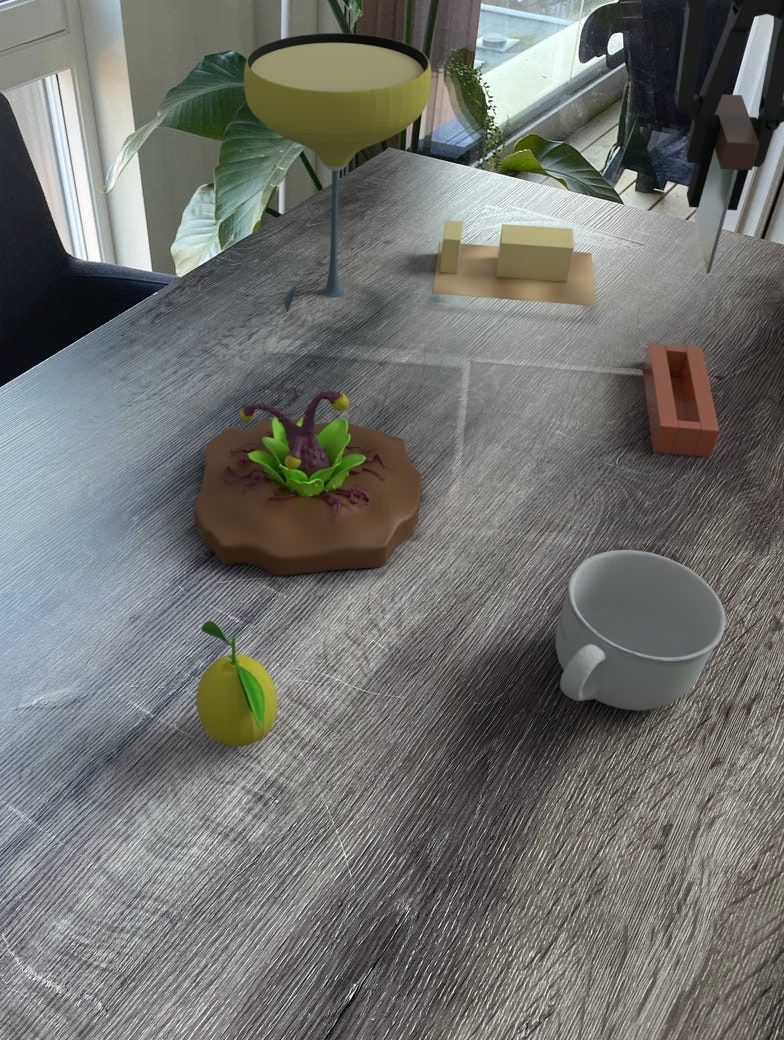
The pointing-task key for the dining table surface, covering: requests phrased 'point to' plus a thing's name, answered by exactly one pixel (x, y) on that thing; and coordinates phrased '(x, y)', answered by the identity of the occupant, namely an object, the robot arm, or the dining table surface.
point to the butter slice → (451, 246)
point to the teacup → (635, 630)
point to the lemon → (235, 697)
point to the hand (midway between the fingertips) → (711, 201)
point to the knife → (724, 171)
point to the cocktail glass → (336, 100)
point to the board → (513, 279)
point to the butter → (535, 252)
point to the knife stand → (679, 400)
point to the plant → (306, 493)
